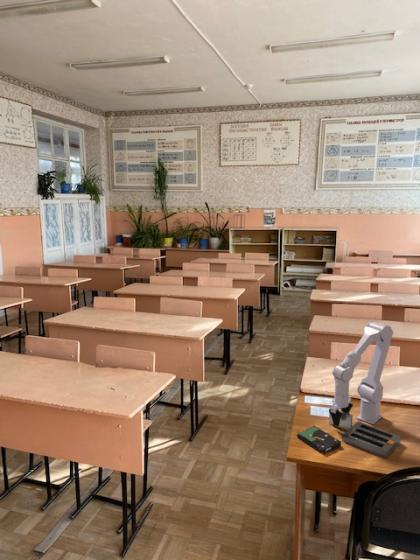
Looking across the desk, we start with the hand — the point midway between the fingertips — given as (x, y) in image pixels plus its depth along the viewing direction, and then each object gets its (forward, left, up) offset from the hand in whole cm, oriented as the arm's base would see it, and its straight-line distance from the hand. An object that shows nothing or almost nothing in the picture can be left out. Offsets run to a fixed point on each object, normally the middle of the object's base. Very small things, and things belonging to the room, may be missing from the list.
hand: (340, 422), depth 185 cm
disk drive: (+17, -1, -3) cm, 17 cm away
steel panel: (0, 0, -2) cm, 2 cm away
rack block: (+3, +15, -2) cm, 15 cm away
